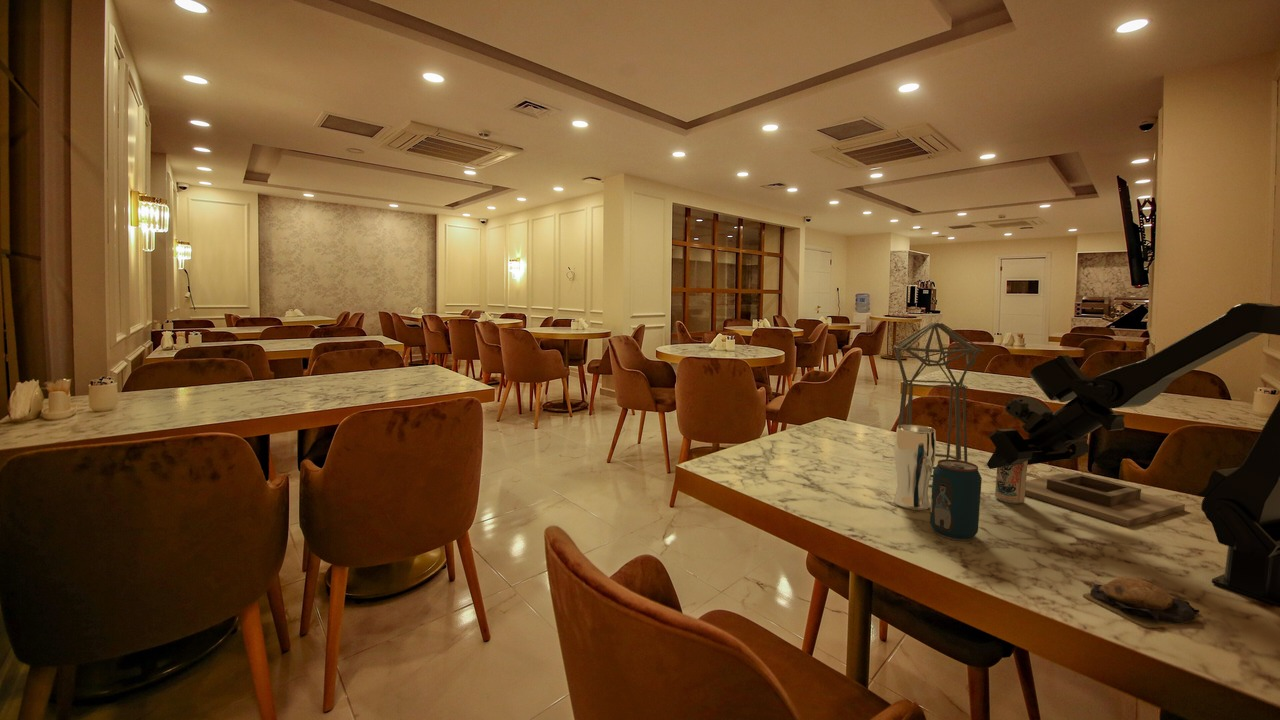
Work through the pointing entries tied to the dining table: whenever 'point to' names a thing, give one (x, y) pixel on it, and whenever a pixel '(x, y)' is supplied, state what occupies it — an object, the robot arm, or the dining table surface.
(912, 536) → the dining table surface
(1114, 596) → the bread roll
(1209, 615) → the dining table surface
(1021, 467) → the beer can
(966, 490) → the soda can
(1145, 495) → the brown square frame
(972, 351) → the geometric lantern
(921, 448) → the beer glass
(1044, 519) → the dining table surface
